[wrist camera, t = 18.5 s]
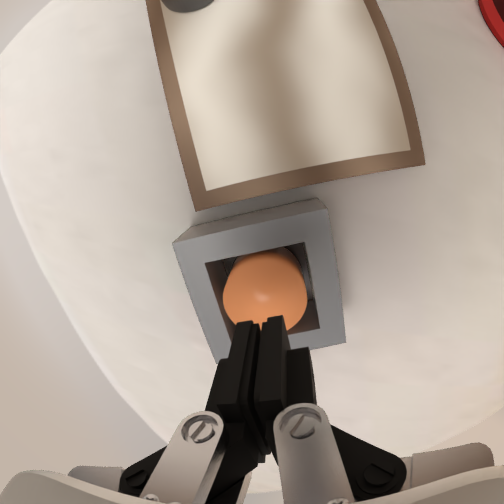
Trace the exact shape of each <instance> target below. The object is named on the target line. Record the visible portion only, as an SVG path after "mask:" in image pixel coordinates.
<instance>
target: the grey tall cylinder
mask: <svg viewBox="0 0 504 504" xmlns="http://www.w3.org/2000/svg"><path fill="white" fill-rule="evenodd" d="M161 1H162V2H163V4H164V5H165V6H166V7H167V8H168V9H169V10H171V11H174V12H181V13H184V12H192V11H196V10H199V9H201V8H203V7H205V6H207V5H209V4H210V3H211V2H212V1H214V0H161Z"/></svg>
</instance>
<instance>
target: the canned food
mask: <svg viewBox="0 0 504 504" xmlns="http://www.w3.org/2000/svg"><path fill="white" fill-rule="evenodd" d="M478 1H479V6H480V9H481V12H482V15H483V17H484V19H485V21H486V23H487V25H488V27H489V28H490V30H491V31H492V33H493V34H494V36H495V37H496V38H497V40H498V41H499V42H500V43H501V45H502V46H503V47H504V0H478Z"/></svg>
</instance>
